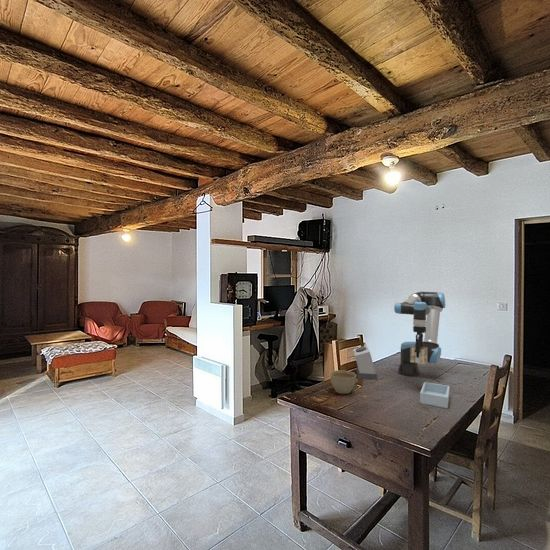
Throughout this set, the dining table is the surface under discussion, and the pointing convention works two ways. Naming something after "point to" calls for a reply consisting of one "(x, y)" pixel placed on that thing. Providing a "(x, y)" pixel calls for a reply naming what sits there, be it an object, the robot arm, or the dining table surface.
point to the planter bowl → (343, 381)
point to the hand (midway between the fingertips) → (418, 360)
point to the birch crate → (422, 355)
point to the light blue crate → (434, 394)
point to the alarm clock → (364, 364)
